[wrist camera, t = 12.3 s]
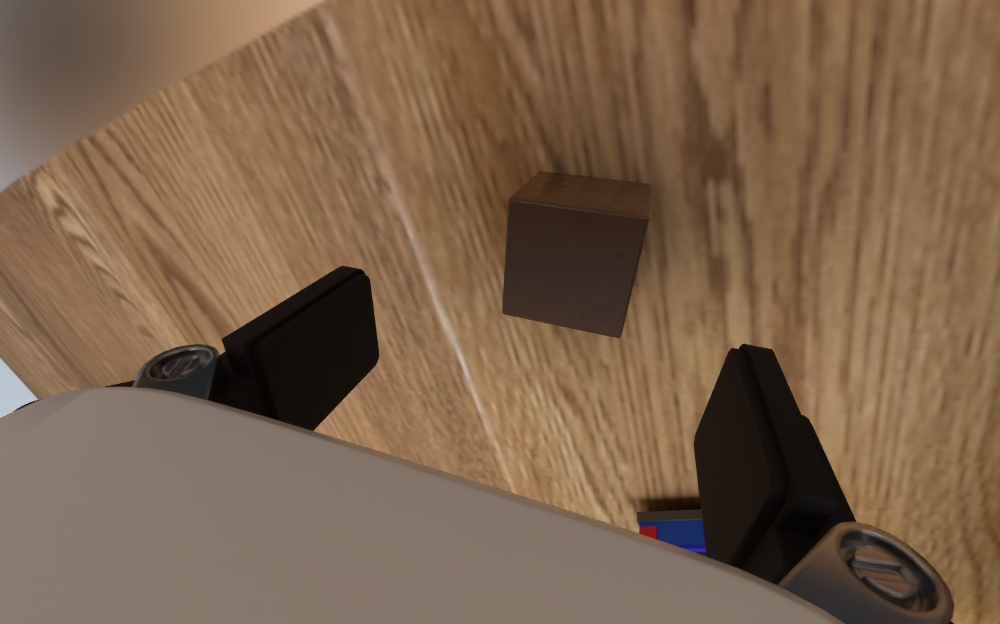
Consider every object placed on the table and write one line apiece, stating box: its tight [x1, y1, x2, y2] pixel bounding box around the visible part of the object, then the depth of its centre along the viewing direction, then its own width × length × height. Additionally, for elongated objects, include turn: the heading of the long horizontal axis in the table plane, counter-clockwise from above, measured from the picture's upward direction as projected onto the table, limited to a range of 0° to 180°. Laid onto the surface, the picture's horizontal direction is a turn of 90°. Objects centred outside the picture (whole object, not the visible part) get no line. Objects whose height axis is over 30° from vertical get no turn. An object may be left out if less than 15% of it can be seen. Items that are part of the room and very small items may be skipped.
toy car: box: [637, 509, 706, 556], centre depth 24 cm, size 7×12×5 cm, turn 28°
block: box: [502, 172, 651, 338], centre depth 16 cm, size 5×5×5 cm
